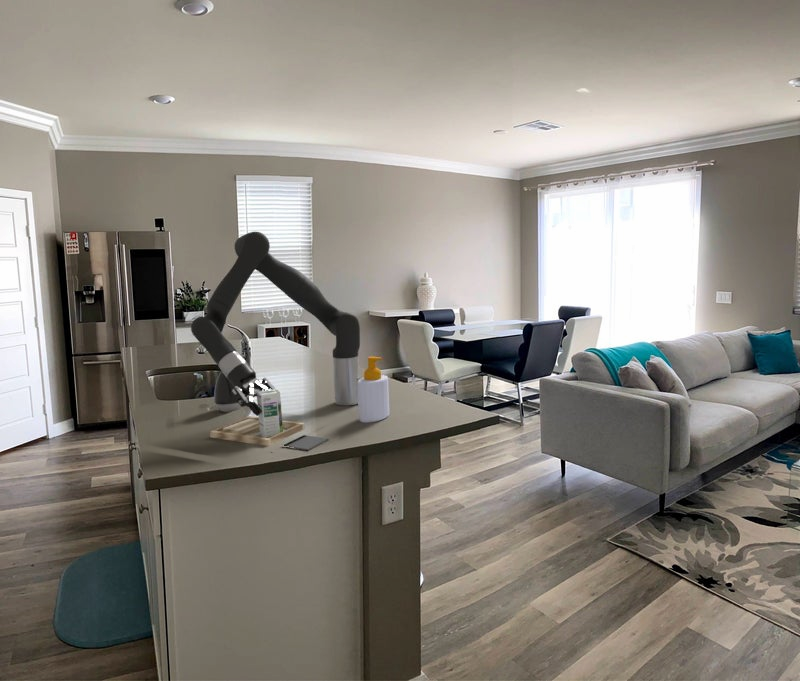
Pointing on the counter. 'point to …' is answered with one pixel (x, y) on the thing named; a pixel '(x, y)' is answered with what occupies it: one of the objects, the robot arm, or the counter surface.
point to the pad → (306, 442)
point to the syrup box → (270, 413)
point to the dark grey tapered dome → (225, 395)
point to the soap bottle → (373, 393)
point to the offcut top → (241, 426)
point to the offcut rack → (248, 437)
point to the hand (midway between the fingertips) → (269, 410)
